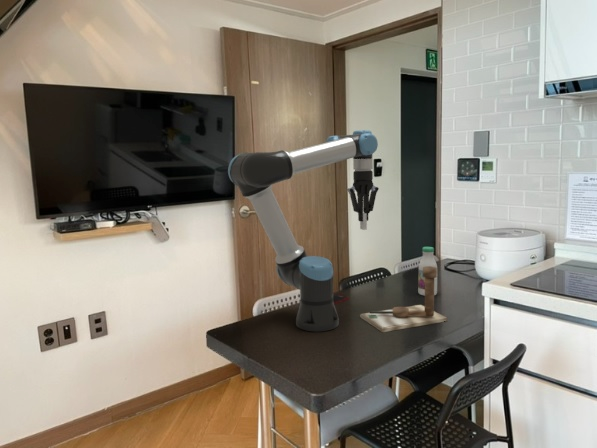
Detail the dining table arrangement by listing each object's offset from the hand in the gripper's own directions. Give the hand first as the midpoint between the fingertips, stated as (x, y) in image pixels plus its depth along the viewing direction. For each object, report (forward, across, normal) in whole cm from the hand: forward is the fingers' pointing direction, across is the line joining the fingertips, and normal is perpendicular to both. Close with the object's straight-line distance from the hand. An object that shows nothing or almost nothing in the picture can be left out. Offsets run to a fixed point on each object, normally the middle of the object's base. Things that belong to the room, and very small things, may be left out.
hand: (363, 229), depth 185 cm
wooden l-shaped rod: (+28, -2, +26) cm, 38 cm away
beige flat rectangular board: (+29, -2, +26) cm, 39 cm away
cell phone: (+30, +13, -4) cm, 33 cm away
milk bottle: (+30, -28, +4) cm, 41 cm away
